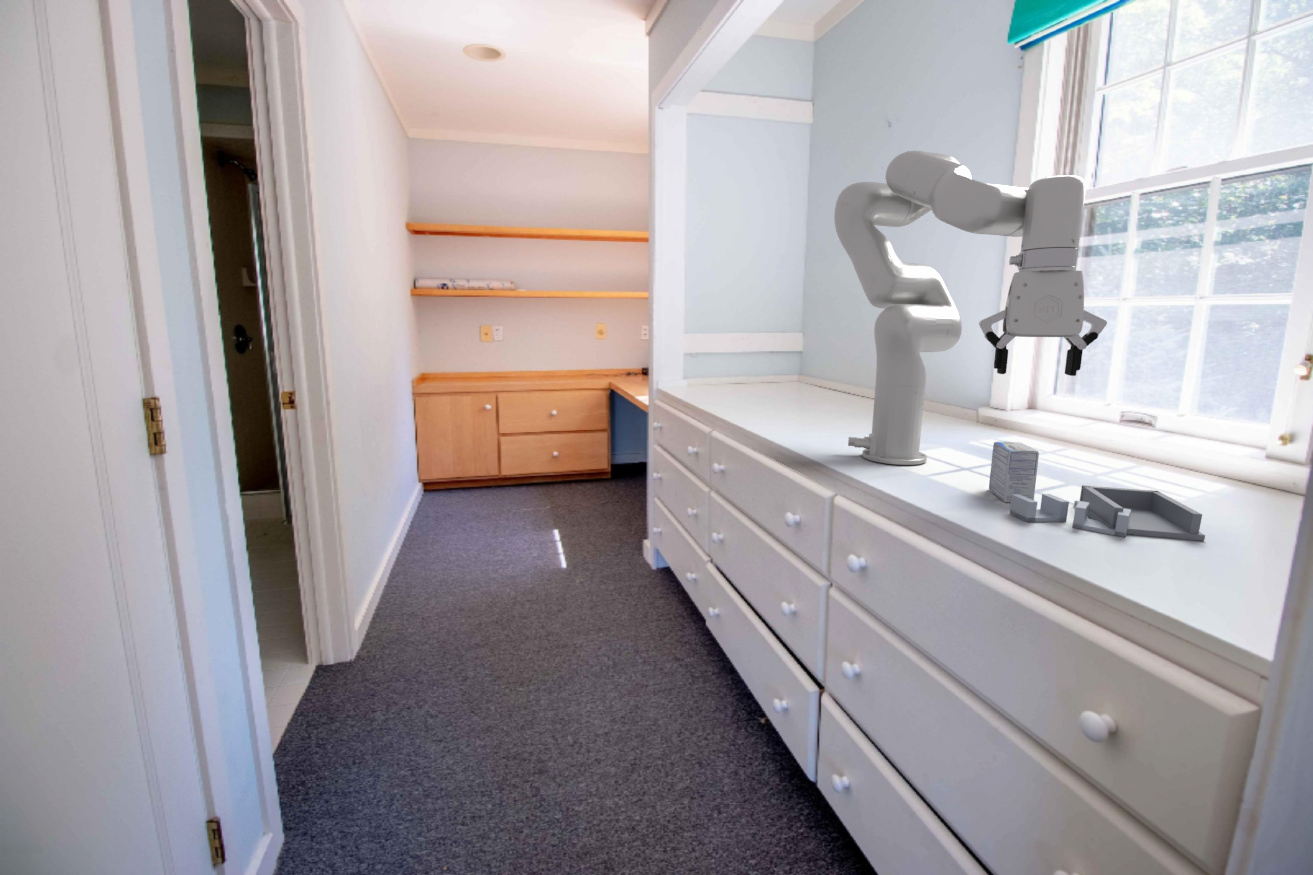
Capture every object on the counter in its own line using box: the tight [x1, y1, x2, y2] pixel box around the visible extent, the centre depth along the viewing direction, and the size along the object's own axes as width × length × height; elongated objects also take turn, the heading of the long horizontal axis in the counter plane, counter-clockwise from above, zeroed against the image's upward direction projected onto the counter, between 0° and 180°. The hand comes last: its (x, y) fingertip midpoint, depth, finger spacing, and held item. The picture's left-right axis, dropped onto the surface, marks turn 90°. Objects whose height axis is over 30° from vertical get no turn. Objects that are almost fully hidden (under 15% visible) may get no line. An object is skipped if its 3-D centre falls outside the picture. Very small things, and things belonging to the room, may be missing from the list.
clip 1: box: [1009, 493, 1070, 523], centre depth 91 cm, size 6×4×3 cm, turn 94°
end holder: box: [1073, 484, 1206, 542], centre depth 89 cm, size 11×13×4 cm
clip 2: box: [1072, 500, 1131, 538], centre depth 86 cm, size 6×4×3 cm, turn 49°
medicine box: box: [988, 441, 1040, 504], centre depth 101 cm, size 8×4×9 cm, turn 168°
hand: (1035, 374), depth 98 cm, fingers open, 9 cm apart
